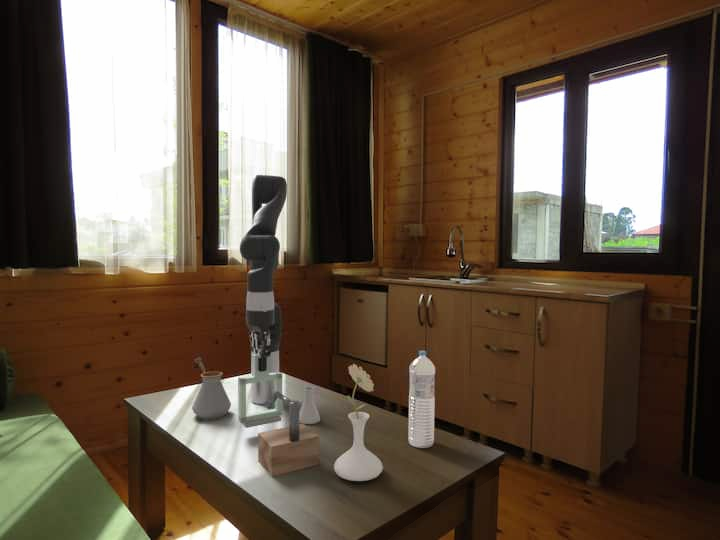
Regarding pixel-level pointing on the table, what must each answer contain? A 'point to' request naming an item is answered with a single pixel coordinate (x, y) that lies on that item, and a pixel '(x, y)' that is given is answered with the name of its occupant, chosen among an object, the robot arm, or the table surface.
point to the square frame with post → (244, 418)
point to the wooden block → (287, 450)
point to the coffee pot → (211, 396)
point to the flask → (308, 408)
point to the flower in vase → (358, 439)
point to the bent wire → (292, 414)
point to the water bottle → (421, 402)
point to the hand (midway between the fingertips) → (260, 369)
